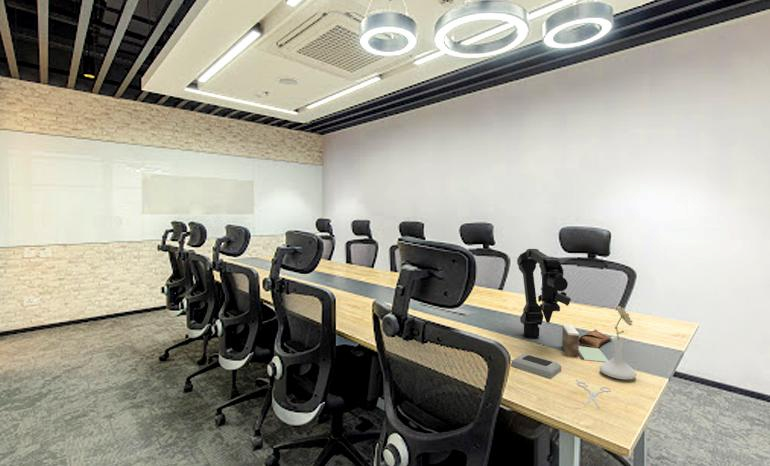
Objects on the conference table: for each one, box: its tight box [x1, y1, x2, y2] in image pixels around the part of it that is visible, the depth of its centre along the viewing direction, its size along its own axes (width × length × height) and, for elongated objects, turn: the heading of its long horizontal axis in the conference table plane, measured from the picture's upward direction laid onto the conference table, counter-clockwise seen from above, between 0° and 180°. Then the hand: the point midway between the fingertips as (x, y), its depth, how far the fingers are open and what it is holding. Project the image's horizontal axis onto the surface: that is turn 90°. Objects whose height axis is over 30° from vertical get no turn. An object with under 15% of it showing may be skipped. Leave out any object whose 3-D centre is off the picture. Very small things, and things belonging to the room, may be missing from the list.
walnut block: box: [561, 324, 580, 359], centre depth 157 cm, size 4×12×10 cm, turn 164°
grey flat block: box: [510, 353, 562, 380], centre depth 139 cm, size 10×4×15 cm
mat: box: [578, 345, 609, 363], centre depth 155 cm, size 10×16×1 cm, turn 164°
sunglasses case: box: [579, 329, 612, 348], centre depth 169 cm, size 18×7×7 cm
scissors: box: [575, 378, 612, 410], centre depth 119 cm, size 11×1×20 cm
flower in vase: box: [598, 305, 637, 380], centre depth 134 cm, size 13×11×25 cm
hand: (547, 322), depth 159 cm, fingers closed
